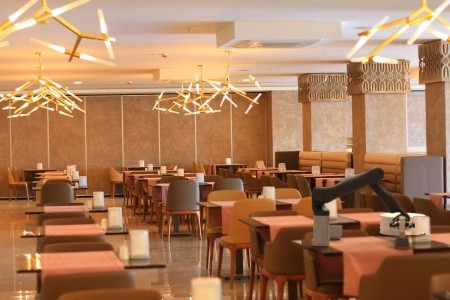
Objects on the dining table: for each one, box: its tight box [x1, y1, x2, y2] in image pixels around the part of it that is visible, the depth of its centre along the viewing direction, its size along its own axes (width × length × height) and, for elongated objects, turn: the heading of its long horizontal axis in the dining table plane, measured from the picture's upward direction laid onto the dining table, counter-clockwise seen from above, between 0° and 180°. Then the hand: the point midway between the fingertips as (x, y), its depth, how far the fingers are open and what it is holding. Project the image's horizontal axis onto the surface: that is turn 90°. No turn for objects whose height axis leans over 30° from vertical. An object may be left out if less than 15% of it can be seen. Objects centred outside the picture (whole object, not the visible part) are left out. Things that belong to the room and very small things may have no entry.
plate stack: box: [379, 212, 427, 237], centre depth 571 cm, size 28×28×12 cm
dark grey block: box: [394, 236, 411, 250], centre depth 508 cm, size 10×8×6 cm
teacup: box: [330, 224, 343, 240], centre depth 545 cm, size 14×11×8 cm
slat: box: [399, 217, 406, 238], centre depth 508 cm, size 5×3×15 cm, turn 170°
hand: (402, 226), depth 509 cm, fingers open, 8 cm apart
